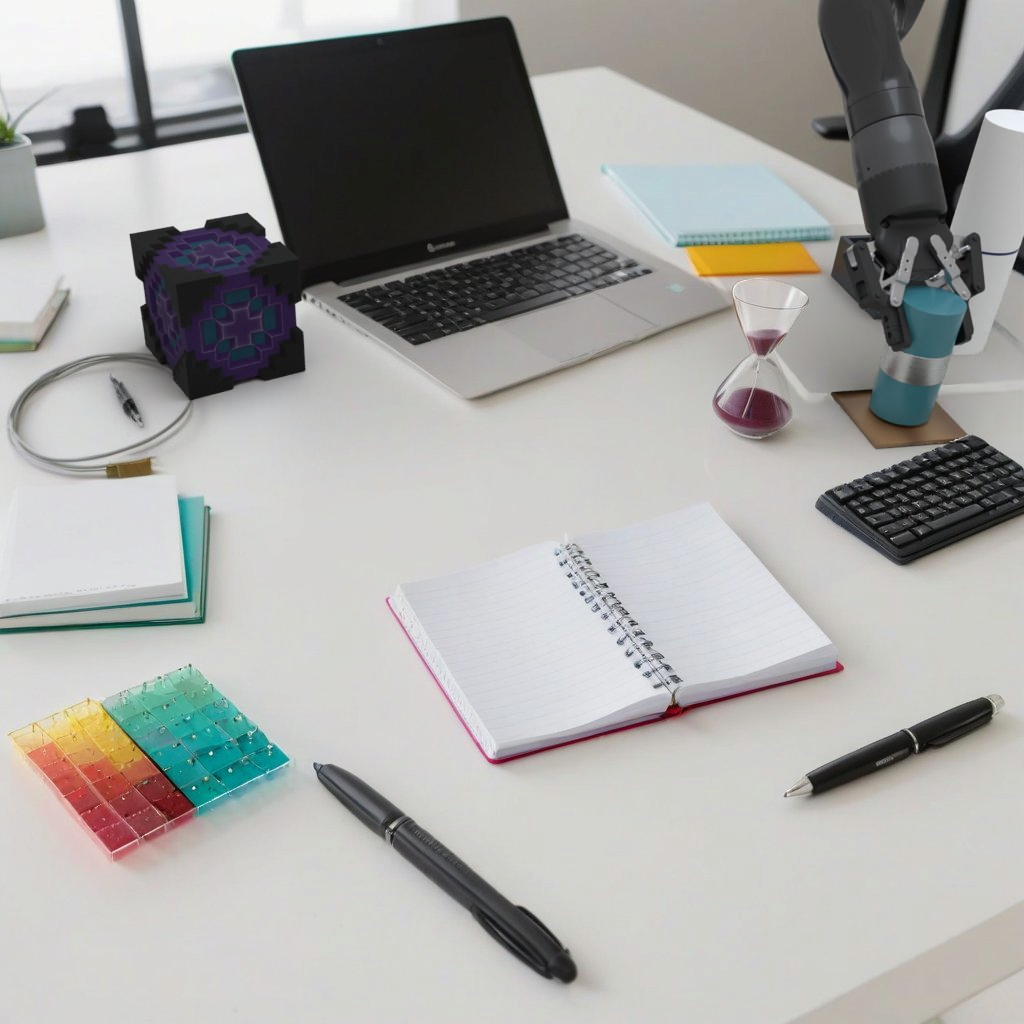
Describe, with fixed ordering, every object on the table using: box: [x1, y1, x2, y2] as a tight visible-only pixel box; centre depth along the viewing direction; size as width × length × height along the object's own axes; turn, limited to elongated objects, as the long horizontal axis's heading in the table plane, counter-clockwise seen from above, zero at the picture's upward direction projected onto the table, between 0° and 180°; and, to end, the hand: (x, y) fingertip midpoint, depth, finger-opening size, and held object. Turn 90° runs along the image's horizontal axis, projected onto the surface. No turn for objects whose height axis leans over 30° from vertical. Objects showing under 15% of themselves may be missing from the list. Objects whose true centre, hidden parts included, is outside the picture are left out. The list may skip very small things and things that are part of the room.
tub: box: [830, 234, 928, 321], centre depth 134 cm, size 11×11×6 cm
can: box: [869, 286, 967, 426], centre depth 111 cm, size 6×6×12 cm
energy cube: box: [129, 212, 306, 401], centre depth 112 cm, size 12×12×12 cm
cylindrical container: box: [937, 108, 1024, 356], centre depth 120 cm, size 7×7×25 cm
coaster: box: [830, 388, 969, 449], centre depth 115 cm, size 10×10×1 cm
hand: (932, 345), depth 108 cm, fingers closed on can, 6 cm apart
